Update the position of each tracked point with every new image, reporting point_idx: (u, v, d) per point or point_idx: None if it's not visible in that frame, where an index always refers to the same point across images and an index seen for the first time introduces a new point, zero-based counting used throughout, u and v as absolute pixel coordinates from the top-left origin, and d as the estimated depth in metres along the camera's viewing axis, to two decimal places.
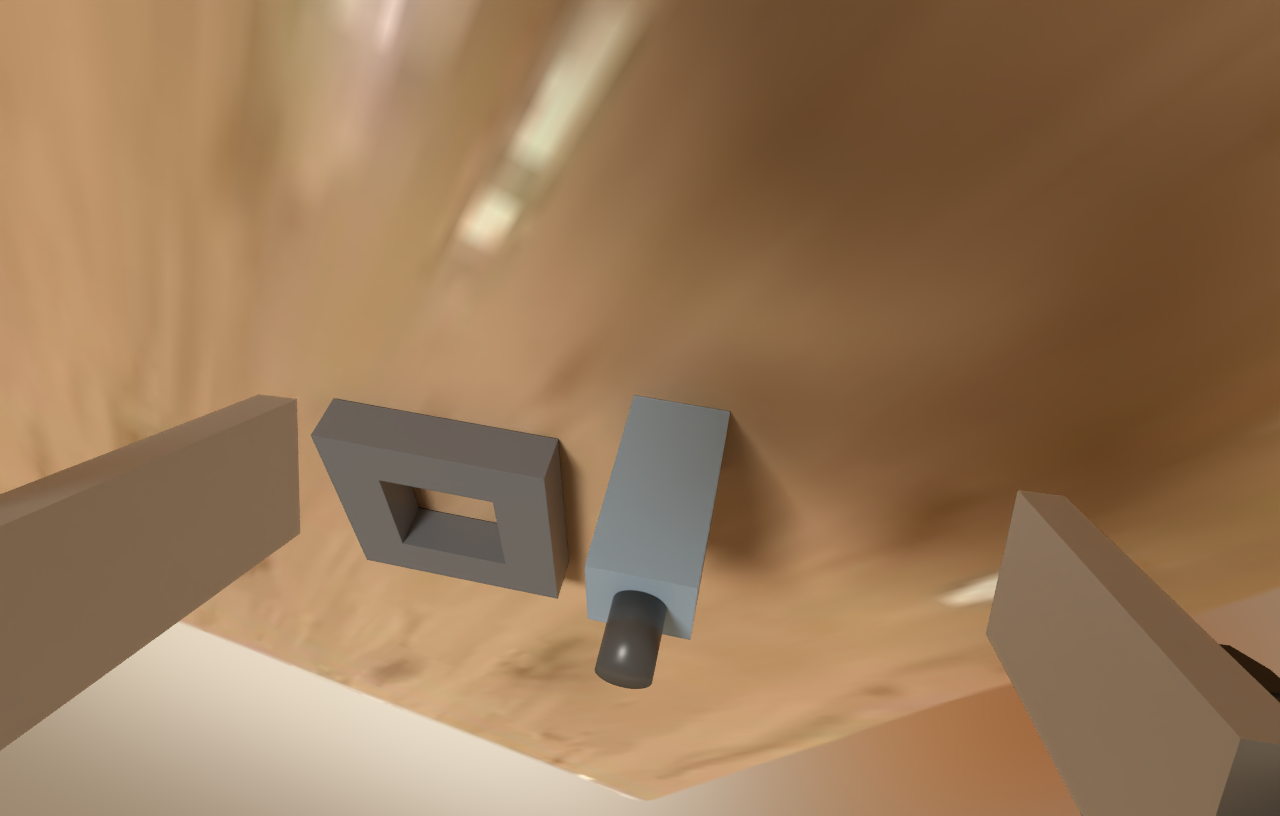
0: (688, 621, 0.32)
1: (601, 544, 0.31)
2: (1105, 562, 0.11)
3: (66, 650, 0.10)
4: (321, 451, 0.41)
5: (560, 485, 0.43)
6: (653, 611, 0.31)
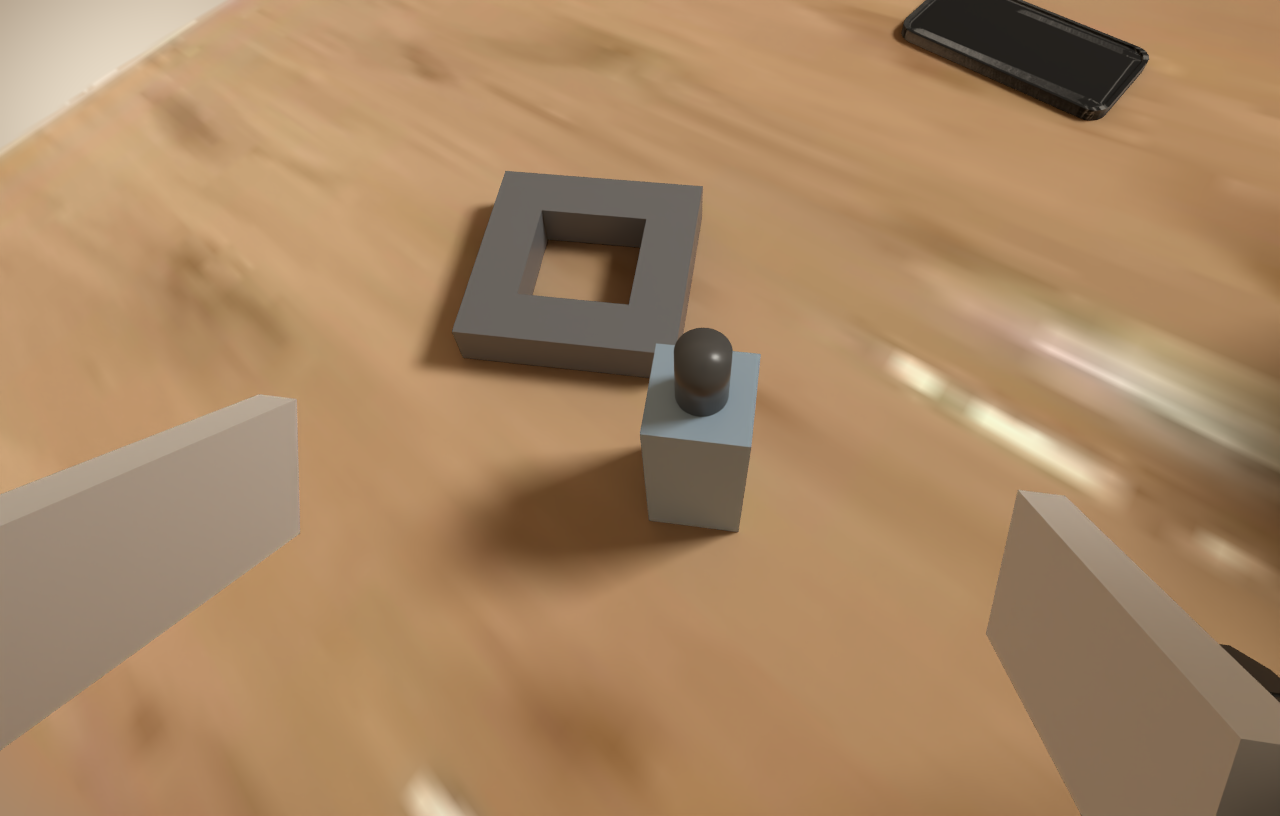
0: (681, 434, 0.32)
1: None
2: (1105, 562, 0.11)
3: (66, 650, 0.10)
4: (681, 187, 0.47)
5: (609, 371, 0.44)
6: (721, 401, 0.32)
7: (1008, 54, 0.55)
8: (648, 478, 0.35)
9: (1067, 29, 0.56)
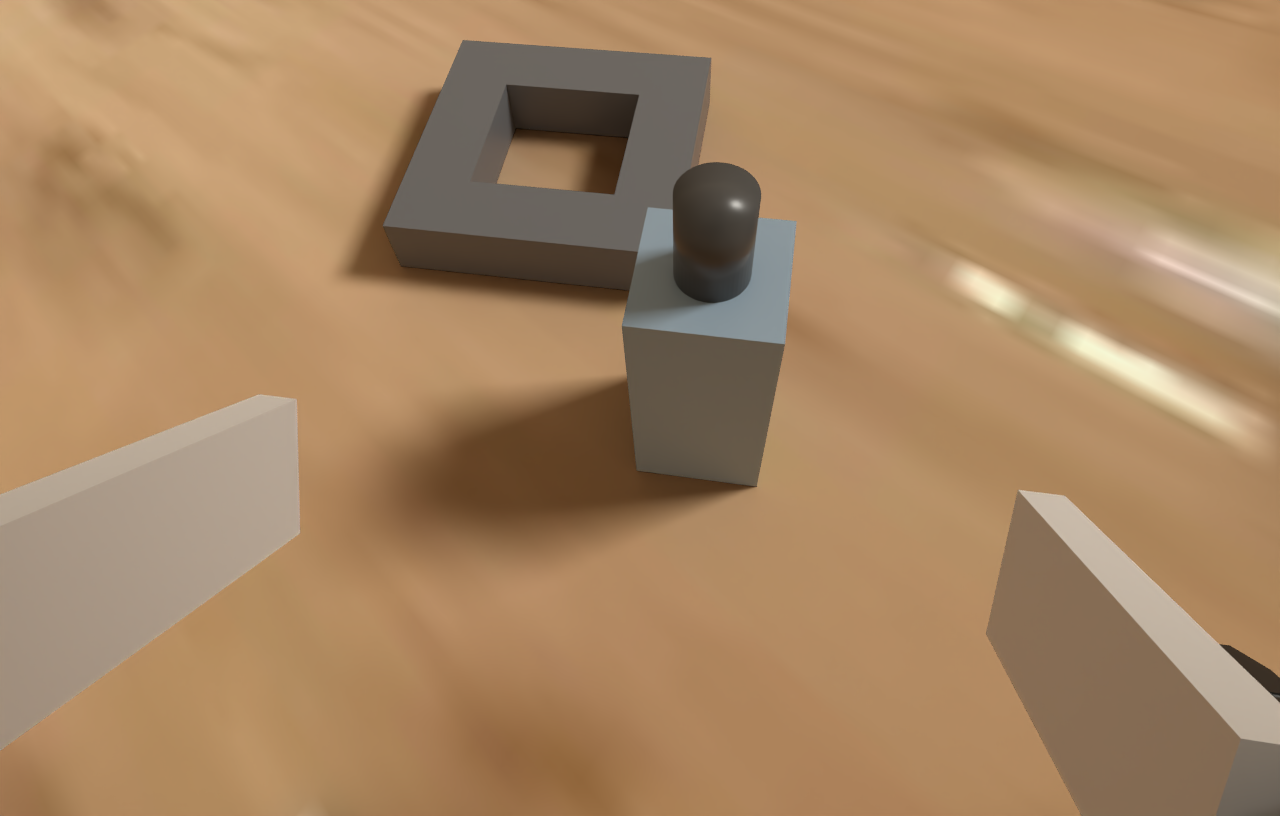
0: (682, 327, 0.22)
1: None
2: (1105, 562, 0.11)
3: (65, 650, 0.10)
4: (683, 58, 0.37)
5: (588, 282, 0.34)
6: (741, 278, 0.22)
7: None
8: (635, 403, 0.25)
9: None
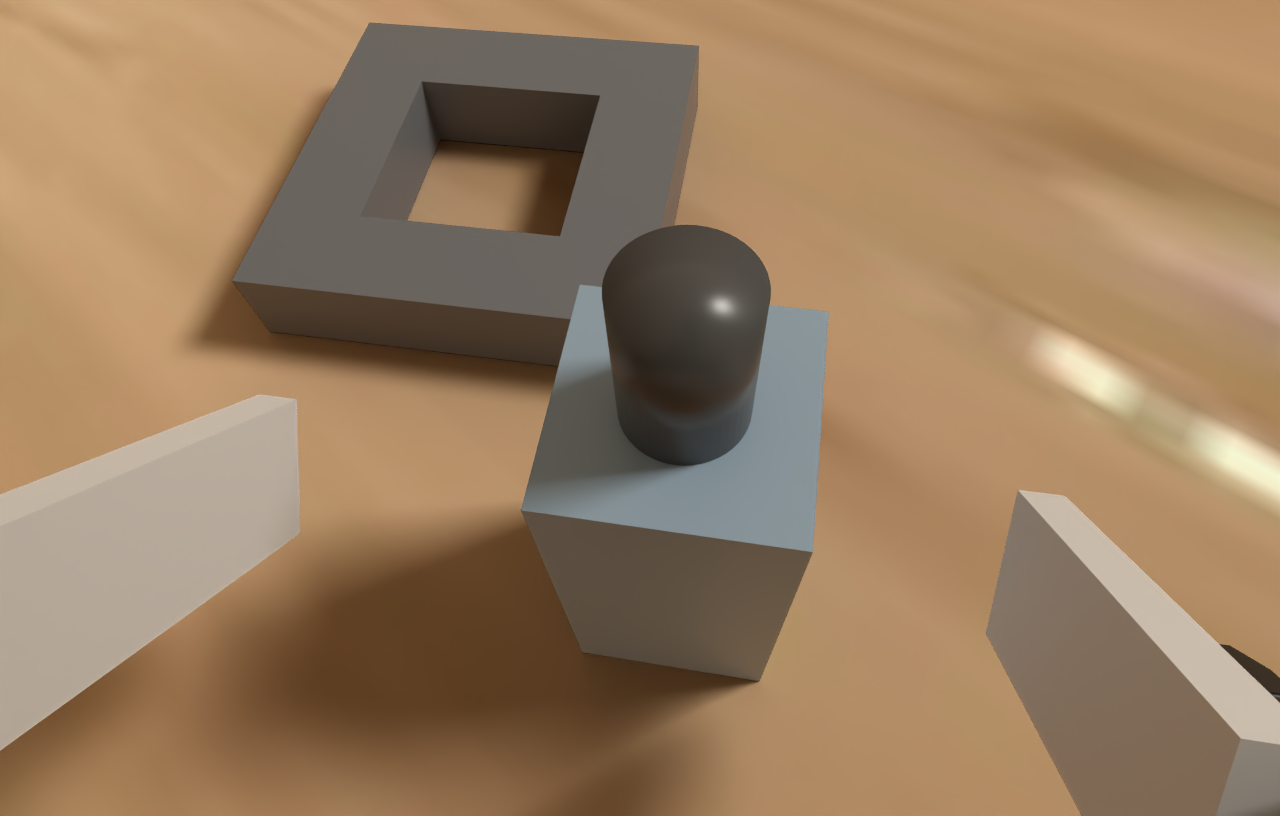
0: (628, 513, 0.12)
1: None
2: (1105, 562, 0.11)
3: (66, 650, 0.10)
4: (662, 46, 0.28)
5: (525, 357, 0.24)
6: (733, 428, 0.12)
7: None
8: (564, 593, 0.16)
9: None
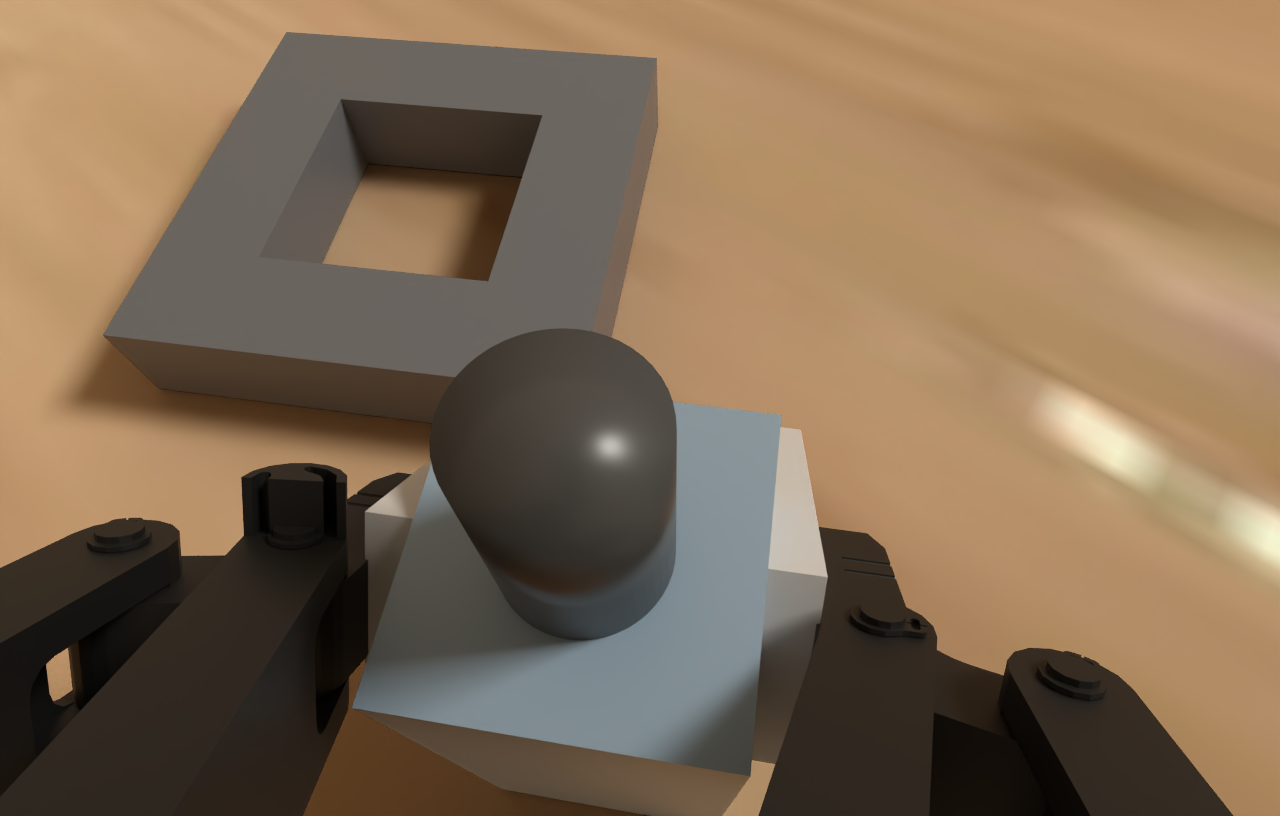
0: (498, 714, 0.09)
1: None
2: (783, 471, 0.13)
3: None
4: (614, 59, 0.25)
5: None
6: (643, 595, 0.09)
7: None
8: (453, 759, 0.12)
9: None
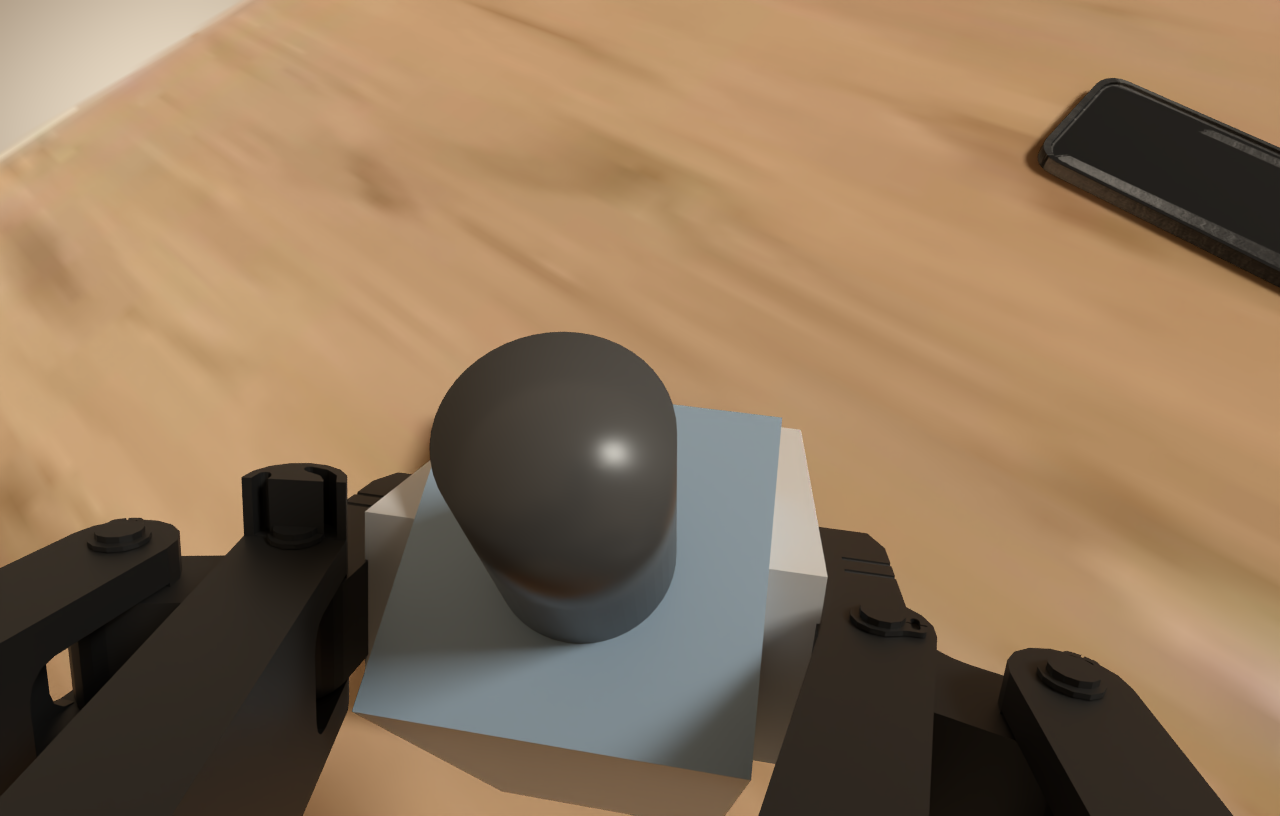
0: (498, 718, 0.09)
1: None
2: (783, 471, 0.13)
3: None
4: None
5: None
6: (643, 599, 0.09)
7: (1197, 200, 0.39)
8: (454, 762, 0.12)
9: (1276, 162, 0.40)
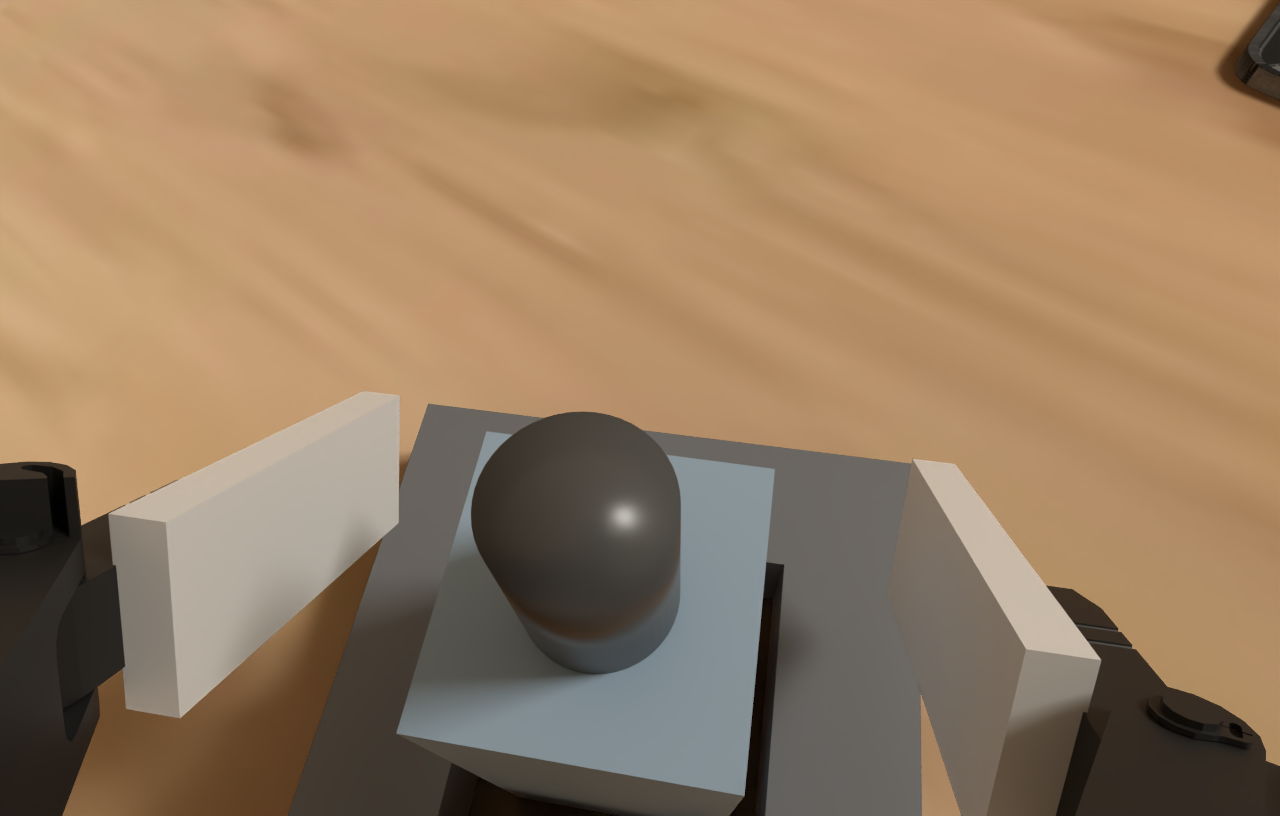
0: (524, 740, 0.10)
1: None
2: (968, 517, 0.12)
3: (230, 626, 0.11)
4: (863, 465, 0.19)
5: None
6: None
7: None
8: (478, 773, 0.14)
9: None
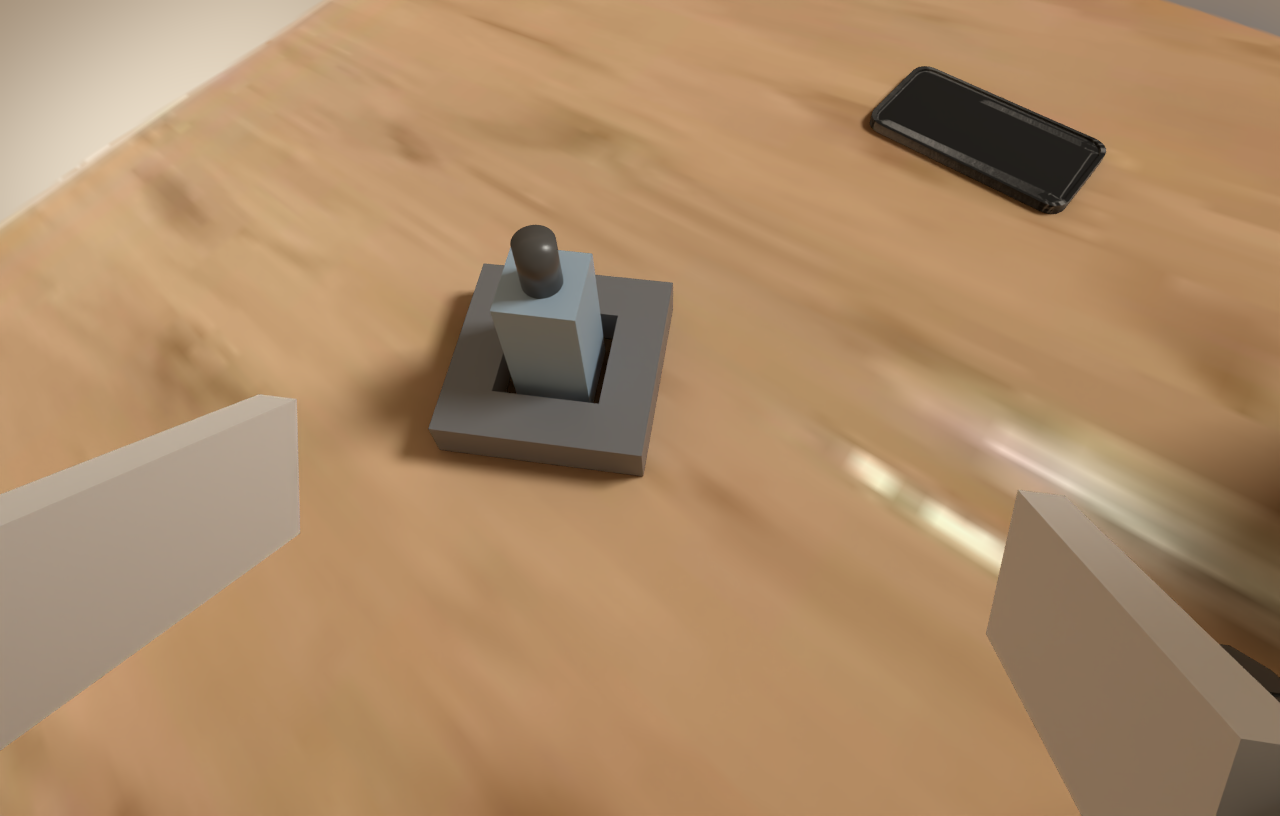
0: (522, 311, 0.41)
1: (592, 272, 0.43)
2: (1105, 562, 0.11)
3: (66, 650, 0.10)
4: (652, 283, 0.49)
5: (579, 466, 0.46)
6: (553, 285, 0.41)
7: (972, 147, 0.57)
8: (507, 356, 0.44)
9: (1028, 120, 0.58)
